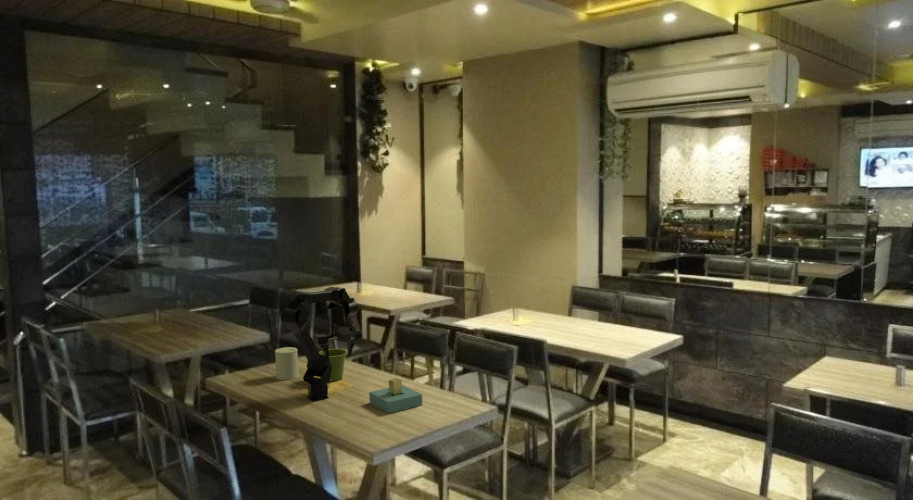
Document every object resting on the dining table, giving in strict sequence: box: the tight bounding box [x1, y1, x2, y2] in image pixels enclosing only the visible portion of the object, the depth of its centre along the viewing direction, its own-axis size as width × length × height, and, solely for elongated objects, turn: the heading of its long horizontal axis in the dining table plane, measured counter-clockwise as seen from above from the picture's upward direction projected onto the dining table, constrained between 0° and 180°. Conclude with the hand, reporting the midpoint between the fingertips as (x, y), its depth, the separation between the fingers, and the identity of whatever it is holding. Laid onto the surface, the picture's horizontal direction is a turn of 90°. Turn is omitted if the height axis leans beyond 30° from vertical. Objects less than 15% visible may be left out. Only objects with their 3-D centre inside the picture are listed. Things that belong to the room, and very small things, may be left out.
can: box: [274, 346, 300, 381], centre depth 271 cm, size 9×9×12 cm
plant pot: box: [319, 348, 348, 382], centre depth 267 cm, size 12×12×11 cm
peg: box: [388, 377, 403, 396], centre depth 237 cm, size 3×3×9 cm
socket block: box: [368, 384, 423, 414], centre depth 237 cm, size 14×14×4 cm
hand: (338, 358), depth 255 cm, fingers open, 9 cm apart
